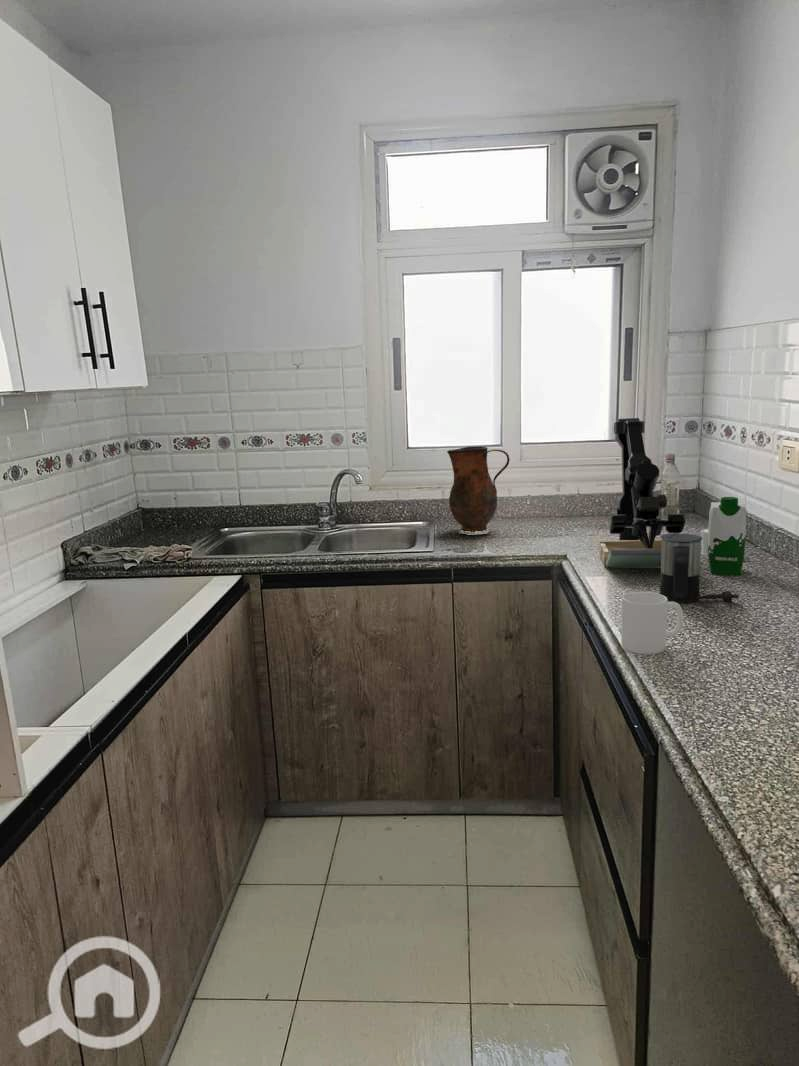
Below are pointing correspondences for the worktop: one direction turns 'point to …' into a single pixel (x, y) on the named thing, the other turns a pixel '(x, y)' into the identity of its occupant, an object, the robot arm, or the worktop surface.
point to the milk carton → (726, 536)
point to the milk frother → (684, 569)
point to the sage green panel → (634, 558)
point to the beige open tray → (623, 544)
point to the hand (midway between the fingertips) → (650, 550)
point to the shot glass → (704, 541)
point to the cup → (647, 622)
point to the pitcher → (473, 488)
